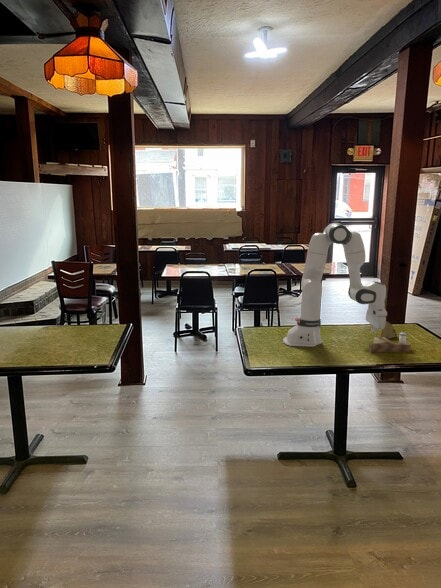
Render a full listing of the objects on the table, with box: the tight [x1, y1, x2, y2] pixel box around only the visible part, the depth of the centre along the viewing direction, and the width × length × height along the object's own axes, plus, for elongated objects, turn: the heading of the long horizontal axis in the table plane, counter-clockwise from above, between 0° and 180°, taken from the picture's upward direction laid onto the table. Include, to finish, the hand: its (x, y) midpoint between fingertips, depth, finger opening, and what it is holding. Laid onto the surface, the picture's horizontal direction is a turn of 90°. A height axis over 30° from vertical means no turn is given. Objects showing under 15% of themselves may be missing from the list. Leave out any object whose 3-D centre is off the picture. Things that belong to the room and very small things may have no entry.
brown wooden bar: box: [368, 342, 412, 353], centre depth 238 cm, size 22×3×4 cm, turn 92°
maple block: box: [373, 336, 392, 343], centre depth 243 cm, size 6×8×5 cm
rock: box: [380, 320, 398, 340], centre depth 261 cm, size 11×9×10 cm
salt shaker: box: [398, 331, 408, 343], centre depth 244 cm, size 4×4×8 cm
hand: (373, 332), depth 253 cm, fingers closed
